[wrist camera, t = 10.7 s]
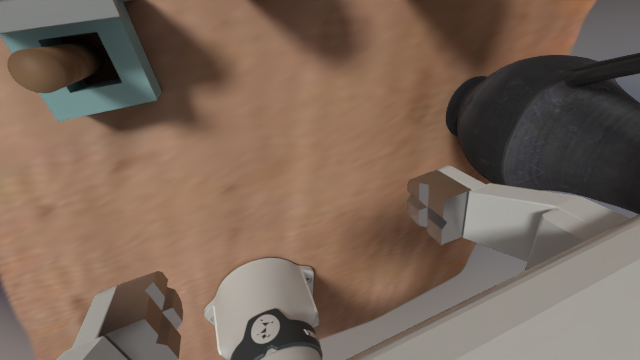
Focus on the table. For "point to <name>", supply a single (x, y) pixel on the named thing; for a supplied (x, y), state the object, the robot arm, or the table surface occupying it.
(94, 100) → the socket station
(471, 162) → the pitcher
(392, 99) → the table surface
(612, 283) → the robot arm
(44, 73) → the peg
